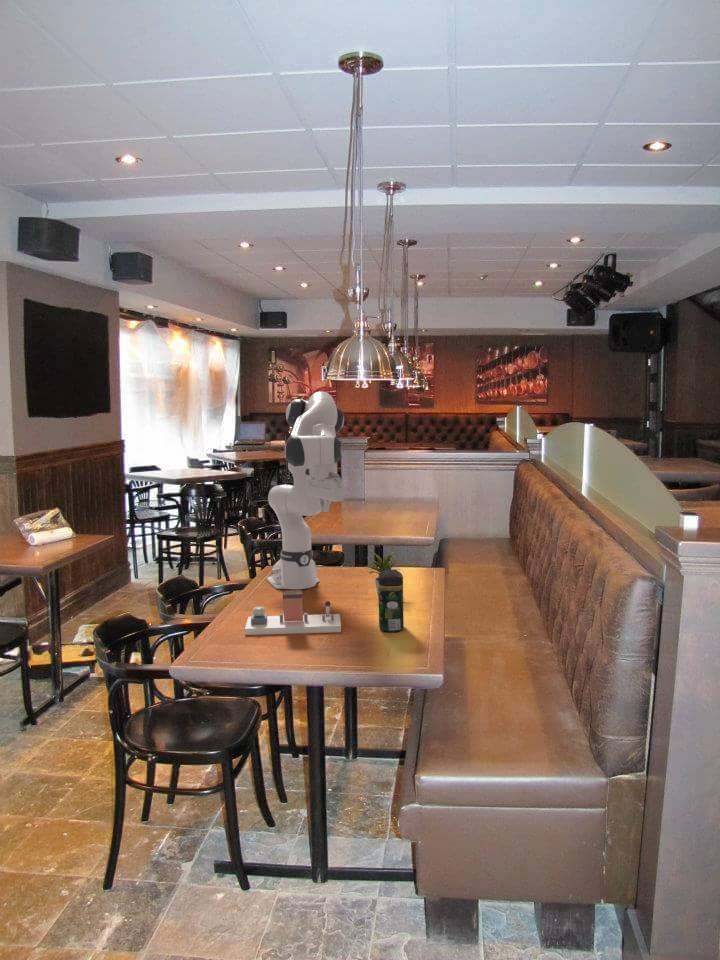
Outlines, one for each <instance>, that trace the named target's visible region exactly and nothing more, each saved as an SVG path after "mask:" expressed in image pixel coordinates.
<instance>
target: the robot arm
mask: <svg viewBox="0 0 720 960" xmlns="http://www.w3.org/2000/svg"><path fill="white" fill-rule="evenodd" d="M344 415H345V414H344V412H343V410H342V409H340V408H338V407H337V405H336V402H335V399H334V398H333V396H332V395H331V394H329V393H328V392H327V391H323V390H322V391H317V392H316V391H315V392H314V393H313V394H312V395H311V396H310V397H309V399H308V400H306V399H303V398H297V399H296V398H295V399H293V400H291V401H290V402H289V404H288V406H287V407H286V409H285V418H286V419H285V420H286V422H287V424H288V425H289V426H292V429H291V431H290V434H289V437H288V438H287V440H286V442H285V445H284V456H285V461H287V468H288V471H289V472H290V474H292V477H293V485H292V484H279V485H274V486H273V487H272V488H271V489H270V490H269V492H268V495H267V501H268V505H269V506H270V507H271V509H272V510H273V511H274V513H275V514H276V517H277V519H278V522H279V525H280V530H281V539H282V549H281V550H280V557H279V558H280V559H279V560H278V561H277V562H276V563H274V564H273V566H272V569H271V574H272V575H270V576H267V578H266V581H267V582H268V583H269V584H270V585H271V586H273V588H275V589H276V590H281V589H282V590H305V589H310V588H313V587H315V586H316V585H317V583H319V582H320V579H319V578H318V577H317V568H316V562H315V561H314V560H313V553H314V552H313V548H312V530H311V527H310V526H309V525H308V524H307V522H305V519H304V517H303V516H305V517H309V516H316V515H318V514H320V513H321V512H324V513H330V506H331V504H332V502H334V503H338V502H343V501H344V499H345V490H344V489H345V487H344V482H343V479H342V478H341V477H340V474H338V462H339V461H340V460H341V459H342V458H343V457H342V441H341V440H340V438H338V437H337V434H338V433H340V432H341V430H342V428H343V426H344V424H345V416H344Z"/></svg>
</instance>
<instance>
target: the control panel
mask: <svg viewBox="0 0 720 960" xmlns="http://www.w3.org/2000/svg"><path fill="white" fill-rule="evenodd" d="M244 627H245V628H244V635H245V636H252V635H253V636H257V635H259V636H260V635H283V634H284V635H285V634H286V635H287V634H290V635H292V634H315V633H316V634H317V633H318V634H319V633H322V634H323V633H341V632H342V621H341V614H340V613H330V617H326V613H325V614H323V613H322V614H308V612H303V621H285V622H284V613H279V615H268V613H265V615H263V616H254V615H253V613H252V614H251V616H248V618H247V620H246V624H245V626H244Z"/></svg>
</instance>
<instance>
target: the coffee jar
mask: <svg viewBox="0 0 720 960" xmlns="http://www.w3.org/2000/svg"><path fill="white" fill-rule="evenodd" d="M378 577H379V578H378V579H379V580H378V594H377V597H378V599H377V601H378V627H379V629H380V630H381V631H382V632H387V633H396V632H401V631H403V629H404V625H405V624H404V620H405V619H404V617H405V616H404V576H403V574H402V572H401V571H399V570H396V569H393V568H391V570H384V571H382V572H381V573H380V574H378Z"/></svg>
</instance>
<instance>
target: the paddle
mask: <svg viewBox="0 0 720 960" xmlns="http://www.w3.org/2000/svg"><path fill="white" fill-rule="evenodd" d="M303 604H304V603H303V589H292V590H282V606H283V607H282V609H283V616H284V622H285V621H303V615H304V609H303V608H304V607H303Z"/></svg>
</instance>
